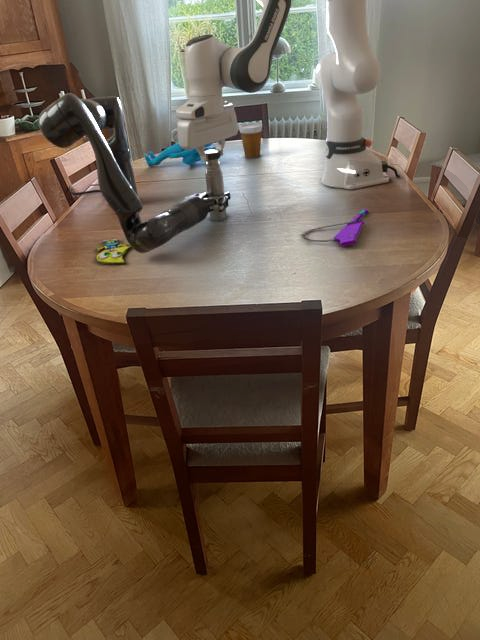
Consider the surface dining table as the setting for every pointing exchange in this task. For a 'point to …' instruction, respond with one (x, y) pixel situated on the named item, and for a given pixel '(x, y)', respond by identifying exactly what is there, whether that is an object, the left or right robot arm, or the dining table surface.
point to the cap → (213, 154)
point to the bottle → (215, 186)
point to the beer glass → (251, 139)
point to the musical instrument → (345, 231)
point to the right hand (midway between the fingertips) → (212, 158)
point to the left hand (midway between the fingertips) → (221, 194)
